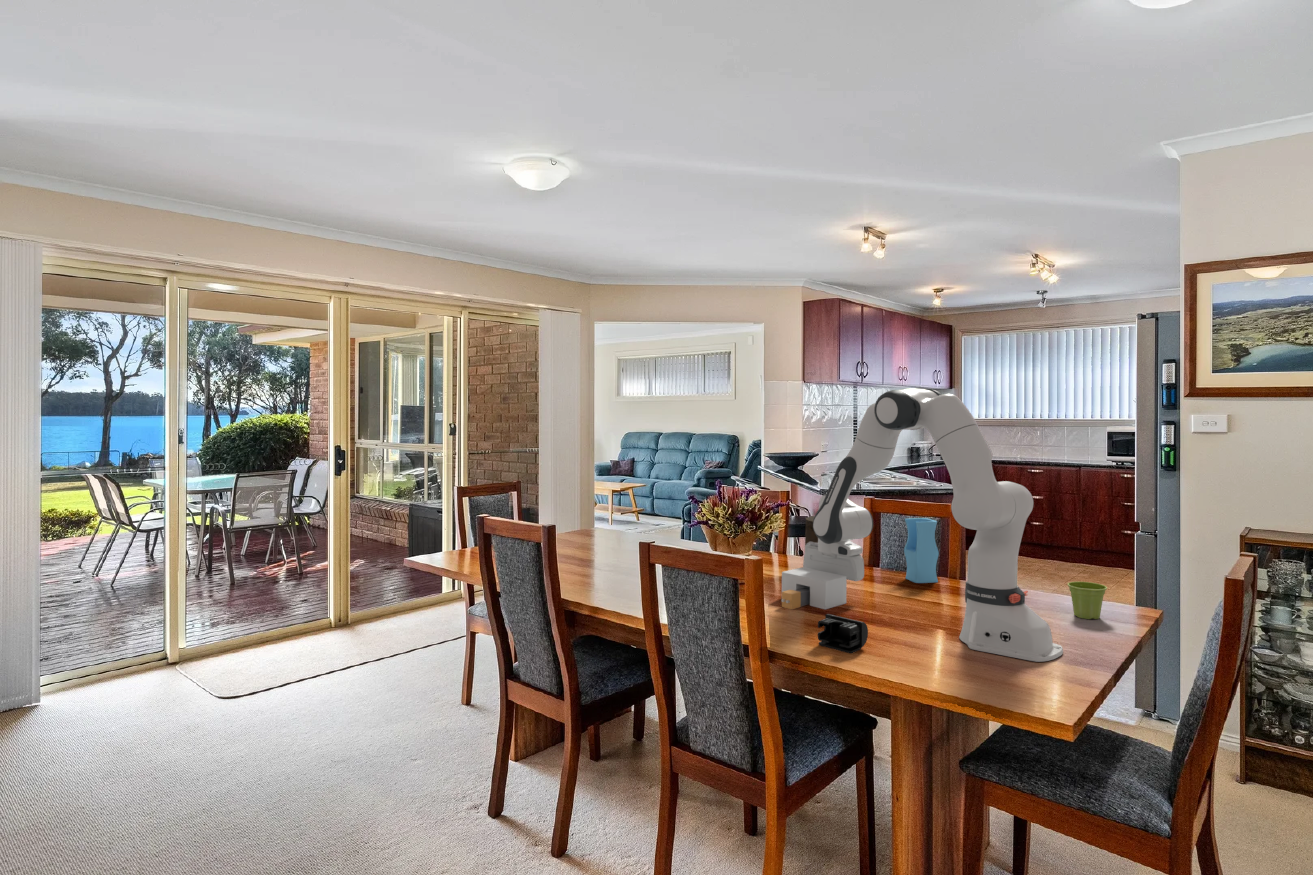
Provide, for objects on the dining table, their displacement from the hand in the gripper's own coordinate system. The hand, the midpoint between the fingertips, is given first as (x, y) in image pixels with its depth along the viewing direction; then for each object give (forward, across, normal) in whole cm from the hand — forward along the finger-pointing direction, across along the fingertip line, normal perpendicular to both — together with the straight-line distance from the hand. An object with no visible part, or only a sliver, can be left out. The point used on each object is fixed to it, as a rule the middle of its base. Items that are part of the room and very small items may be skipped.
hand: (832, 590), depth 223 cm
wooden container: (+2, -23, +28) cm, 36 cm away
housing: (+2, 0, -9) cm, 9 cm away
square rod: (+2, 0, -9) cm, 9 cm away
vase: (+2, +7, +39) cm, 39 cm away
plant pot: (+2, +59, +34) cm, 68 cm away
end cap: (+2, +30, -37) cm, 48 cm away
